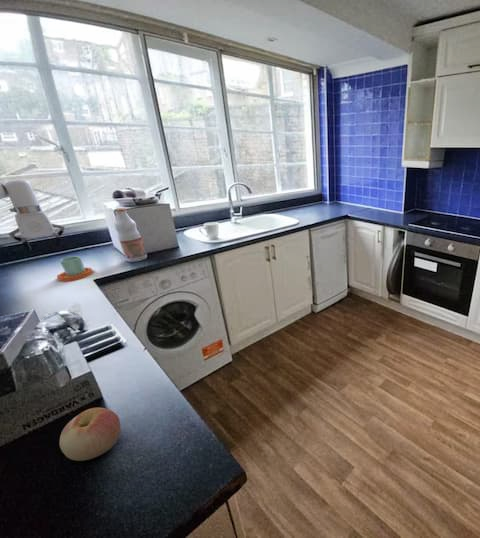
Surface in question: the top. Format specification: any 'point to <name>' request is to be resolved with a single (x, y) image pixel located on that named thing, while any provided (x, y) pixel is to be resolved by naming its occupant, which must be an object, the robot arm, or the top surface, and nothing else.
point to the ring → (62, 276)
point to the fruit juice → (129, 236)
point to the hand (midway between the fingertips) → (45, 247)
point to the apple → (90, 434)
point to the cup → (73, 266)
